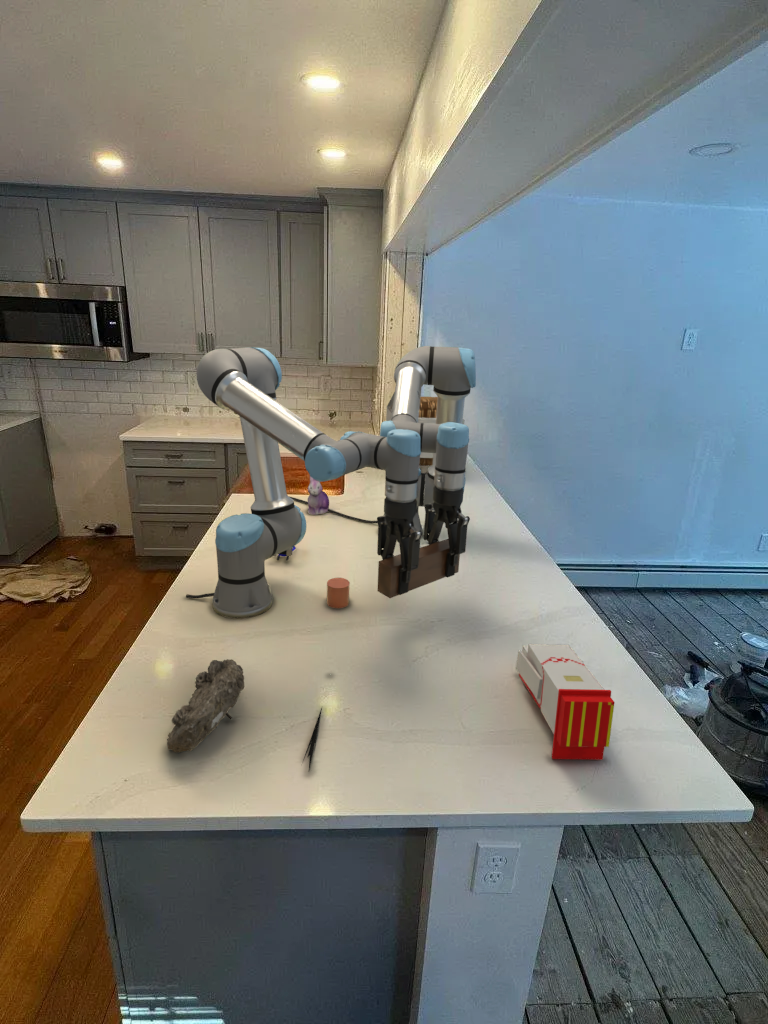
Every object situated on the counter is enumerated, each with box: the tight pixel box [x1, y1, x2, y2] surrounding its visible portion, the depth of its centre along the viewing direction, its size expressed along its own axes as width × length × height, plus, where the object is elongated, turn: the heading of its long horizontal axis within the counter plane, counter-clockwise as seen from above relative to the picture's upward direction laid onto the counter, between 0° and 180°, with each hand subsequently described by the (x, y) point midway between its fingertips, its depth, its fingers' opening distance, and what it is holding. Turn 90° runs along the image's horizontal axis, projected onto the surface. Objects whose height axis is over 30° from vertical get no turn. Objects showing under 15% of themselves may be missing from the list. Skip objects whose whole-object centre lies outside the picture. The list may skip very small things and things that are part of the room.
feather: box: [301, 673, 332, 771], centre depth 108 cm, size 2×28×2 cm
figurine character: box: [274, 545, 297, 562], centre depth 178 cm, size 7×8×15 cm
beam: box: [377, 538, 461, 599], centre depth 142 cm, size 5×24×8 cm, turn 131°
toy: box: [515, 643, 615, 761], centre depth 113 cm, size 12×13×30 cm
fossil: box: [166, 658, 245, 754], centre depth 106 cm, size 22×10×15 cm
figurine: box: [307, 475, 330, 516], centre depth 215 cm, size 9×10×15 cm
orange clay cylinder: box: [326, 577, 351, 609], centre depth 151 cm, size 6×6×6 cm
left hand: (395, 588), depth 138 cm, fingers closed on beam, 5 cm apart
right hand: (441, 571), depth 148 cm, fingers open, 5 cm apart
